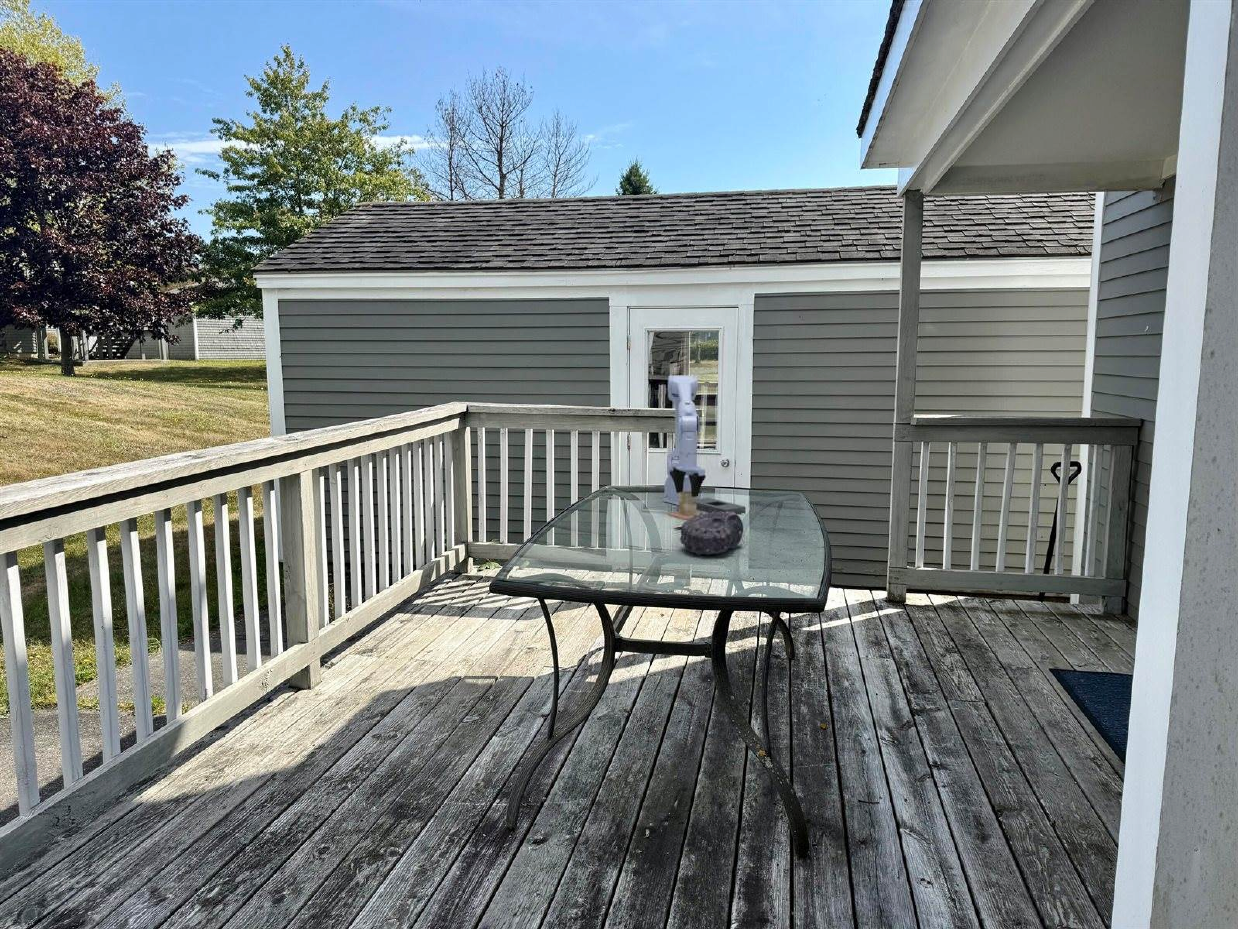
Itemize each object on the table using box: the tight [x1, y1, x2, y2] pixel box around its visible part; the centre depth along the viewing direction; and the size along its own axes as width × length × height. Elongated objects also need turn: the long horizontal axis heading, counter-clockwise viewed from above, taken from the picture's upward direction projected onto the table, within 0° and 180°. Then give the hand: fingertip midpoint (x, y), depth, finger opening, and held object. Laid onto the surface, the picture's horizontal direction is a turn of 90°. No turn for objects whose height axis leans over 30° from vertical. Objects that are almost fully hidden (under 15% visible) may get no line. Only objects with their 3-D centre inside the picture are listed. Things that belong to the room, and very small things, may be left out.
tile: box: [666, 510, 701, 521], centre depth 275 cm, size 9×9×1 cm
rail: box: [696, 497, 747, 515], centre depth 284 cm, size 18×9×2 cm, turn 36°
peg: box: [678, 491, 698, 516], centre depth 274 cm, size 4×4×7 cm
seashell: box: [679, 511, 744, 556], centre depth 232 cm, size 20×13×15 cm
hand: (687, 494), depth 274 cm, fingers open, 7 cm apart
